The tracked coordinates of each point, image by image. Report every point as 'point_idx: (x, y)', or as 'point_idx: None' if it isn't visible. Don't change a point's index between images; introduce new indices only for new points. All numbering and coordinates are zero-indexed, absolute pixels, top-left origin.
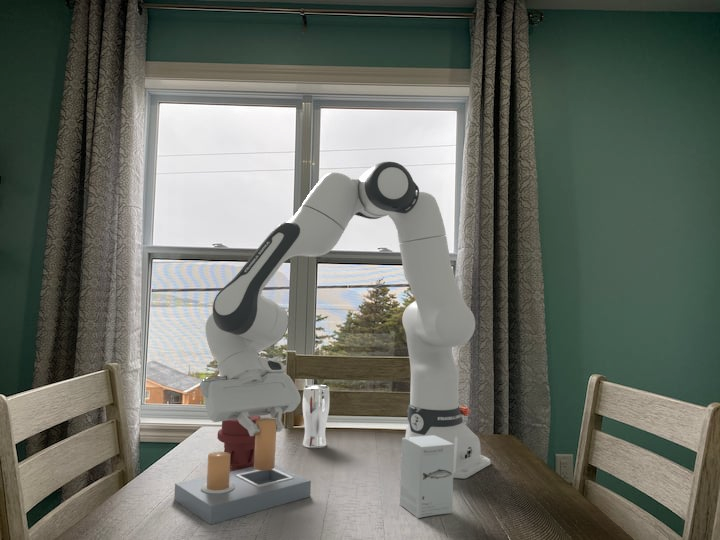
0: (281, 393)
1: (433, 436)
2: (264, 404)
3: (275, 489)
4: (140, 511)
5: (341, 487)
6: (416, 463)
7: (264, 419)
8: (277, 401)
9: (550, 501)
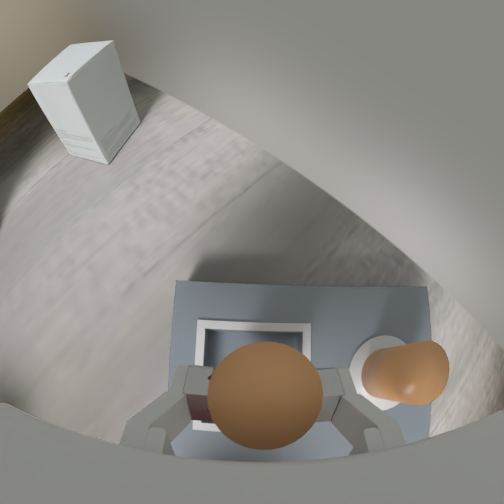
0: (51, 495)
1: (38, 75)
2: (249, 471)
3: (283, 286)
4: (462, 408)
5: (100, 285)
6: (114, 70)
7: (259, 423)
8: (126, 463)
9: (27, 103)
